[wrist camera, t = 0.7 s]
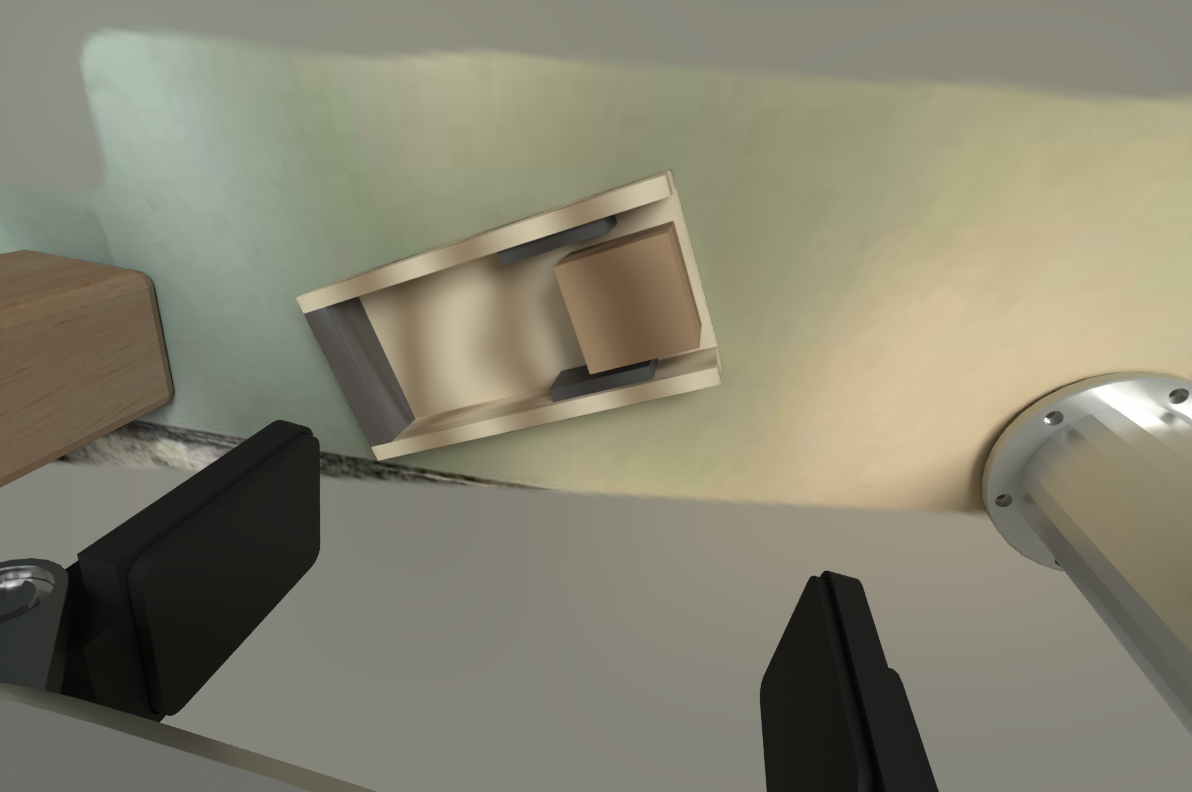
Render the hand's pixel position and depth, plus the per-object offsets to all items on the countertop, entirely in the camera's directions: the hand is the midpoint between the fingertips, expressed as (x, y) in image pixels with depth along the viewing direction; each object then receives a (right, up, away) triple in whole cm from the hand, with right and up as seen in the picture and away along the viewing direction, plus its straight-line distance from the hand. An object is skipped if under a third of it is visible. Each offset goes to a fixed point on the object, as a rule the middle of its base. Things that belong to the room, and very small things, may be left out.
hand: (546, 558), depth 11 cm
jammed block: (+3, +9, +24) cm, 26 cm away
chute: (-4, +8, +26) cm, 27 cm away
